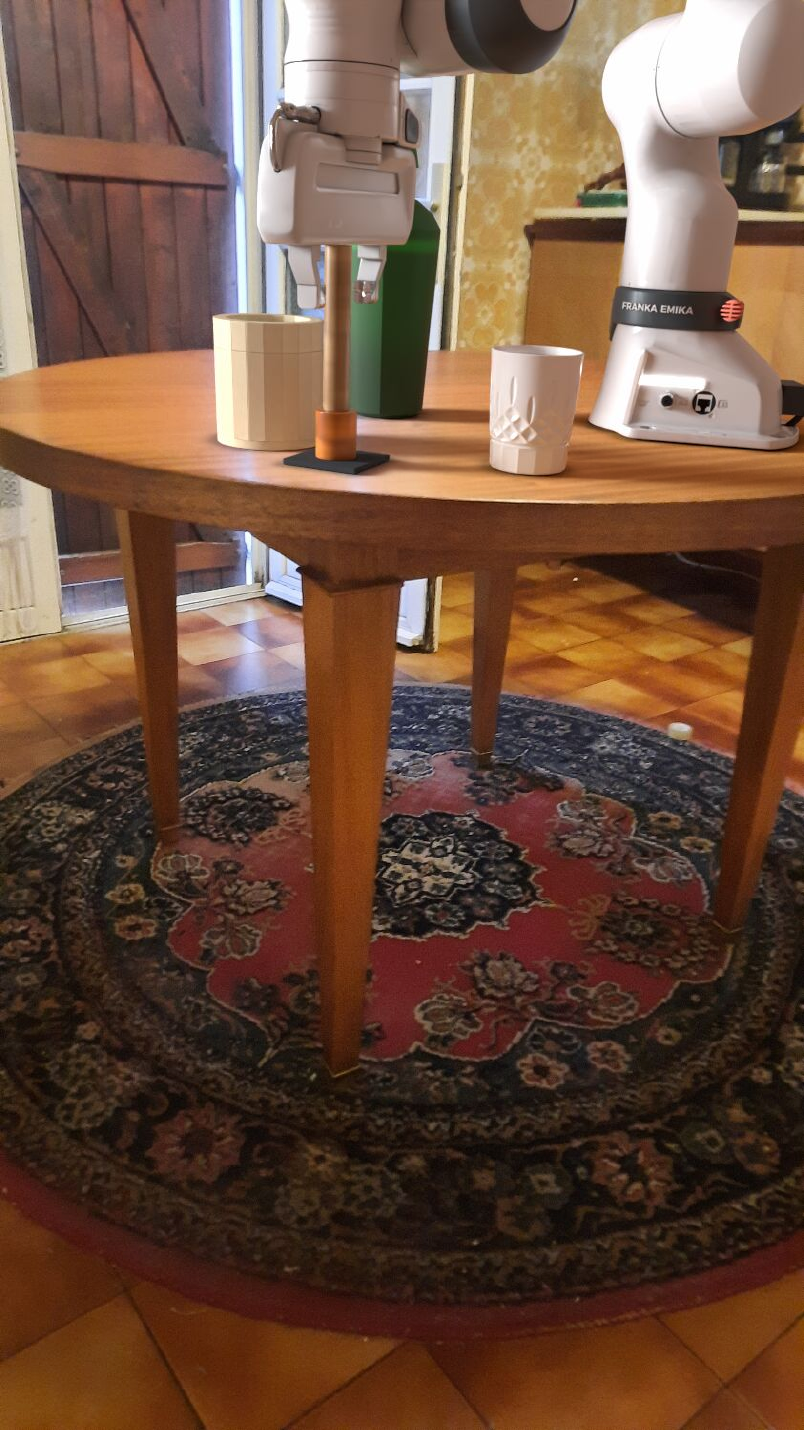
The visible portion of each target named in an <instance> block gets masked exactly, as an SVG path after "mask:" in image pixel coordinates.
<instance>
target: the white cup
mask: <svg viewBox="0 0 804 1430" xmlns="http://www.w3.org/2000/svg"><path fill="white" fill-rule="evenodd" d="M584 358H585V352H584V351H582V350H578V349H575V348H569V347H560V346H549V345H534V344H502V345H495V346H493V347H491V361H490V362H491V364H490V365H491V367H490V387H489V388H490V392H489V435H490V440H489V441H490V442H489V465H490V466H491V467H492V469H496V470H497V471H501V472H505V473H509V474H517V475H529V476H541V475H542V476H545V475H547V476H549V475H554V474H555V475H556V474H560V473H562V472H563V471H565V469H566V466H567V460H568V454H569V453H568V452H569V445H570V444H569V442H570V441H571V437H572V433H573V427H574V419H575V415H576V411H577V404H578V398H579V391H580V385H581V378H582V372H583V366H584Z"/></svg>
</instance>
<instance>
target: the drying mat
mask: <svg viewBox="0 0 804 1430" xmlns="http://www.w3.org/2000/svg"><path fill="white" fill-rule="evenodd" d="M282 460H283V461H282V464H283V465H287V466H294V467H301V468H308V469H314V470H320V471H321V470H322V471H327V472H328V471H329V472H335V473H341V474H349V475H356V474H359V473H361V472H363V471H366V470H369V469H372V468H374V467H376V466H379V465H381V464H384V463H387V462H389V461H390V460H391V455H390V454H389V453H388V454H386V453H379V452H371V451H365V450H358V449H356V458H355V459H352V460H345V461H331V460H324V459H320V458H317V457H316V456H315V447H313V448H311V449H308V450H304V451H301V452H299V453H296V454H293V455H290V456H287V457H284V458H283V459H282Z"/></svg>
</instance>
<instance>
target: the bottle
mask: <svg viewBox="0 0 804 1430" xmlns="http://www.w3.org/2000/svg"><path fill="white" fill-rule="evenodd" d="M408 149H410V150H411V151H412V152H413V154H414V157H415V161H416V169H419V168H420V167H419V160H418V150H417V148H408ZM441 231H442V230H441V228H440V226H439V224H438V222H437V220H436V218H435V216H434V214H433V213H432V211H430V210H429V209H428V208H427V207H426V206H425V205H423V203H421V202H420V201H419V200H418V199H416V198H415V202H414V214H413V223H412V229H411V232H410V235H409V238H408V240H407V242H406V244H404V245H387V255H386V263H385V266H384V269H383V272H382V275H381V278H380V281H379V290H378V300H377V302H375V303H370V304H363V303H356V302H354V300H353V292H354V291H353V281H356V280H357V277H358V272H359V267H360V261H361V259H360V258H358V245H349V246H352V269H351V328H350V387H349V408H352V409H355V410H357V416H361V417H362V416H363V417H369V418H376V419H403V418H410V417H413V416H415V415H418V413H420V412H422V411H423V406H424V396H425V387H426V378H427V369H428V367H427V366H428V359H429V358H428V357H429V349H430V338H431V328H432V320H433V309H434V299H435V290H436V289H435V288H436V279H437V271H438V261H439V251H440V240H441Z"/></svg>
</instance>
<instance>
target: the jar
mask: <svg viewBox="0 0 804 1430" xmlns="http://www.w3.org/2000/svg"><path fill="white" fill-rule="evenodd" d="M212 324H213V325H212V328H213V329H212V331H213V357H214V381H215V382H214V384H215V386H214V387H215V409H216V410H215V411H216V412H215V413H216V430H217V431H216V432H217V433H216V434H217V441H218V442H219V443H220V444H222V445H224V446H228V447H232V448H236V449H243V450H253V451H271V452H272V451H273V452H277V451H280V452H281V451H282V452H283V451H296V450H304V449H310V448H311V449H312V448H315V443H316V409H317V408H320V407H324V319H322V318H320V317H315V316H308V315H300V314H299V315H298V314H288V313H287V314H285V313H269V312H268V313H267V312H266V313H265V312H264V313H263V312H239V313H237V312H236V313H235V312H234V313H219V314H216V315H212Z"/></svg>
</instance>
